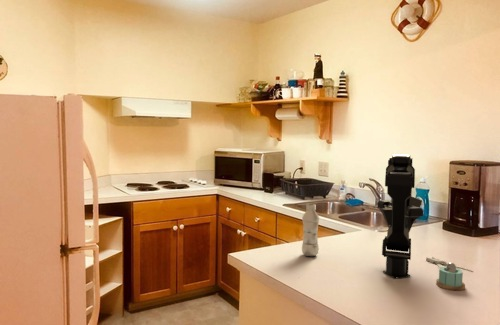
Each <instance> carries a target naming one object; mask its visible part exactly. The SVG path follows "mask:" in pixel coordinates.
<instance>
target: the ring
mask: <svg viewBox="0 0 500 325" xmlns="http://www.w3.org/2000/svg"><path fill="white" fill-rule="evenodd" d="M438 269H439V268H438ZM446 270H447V266H446V267H445V266H443V267H440V269H439V270H438V272H439V274H438V279H439V282H440V283H442V284H444V285H447V286H453V287H454V286H455V287H458V286H462V282H463V272H464V271H463V269H461V268H456V272H448V271H446Z"/></svg>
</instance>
